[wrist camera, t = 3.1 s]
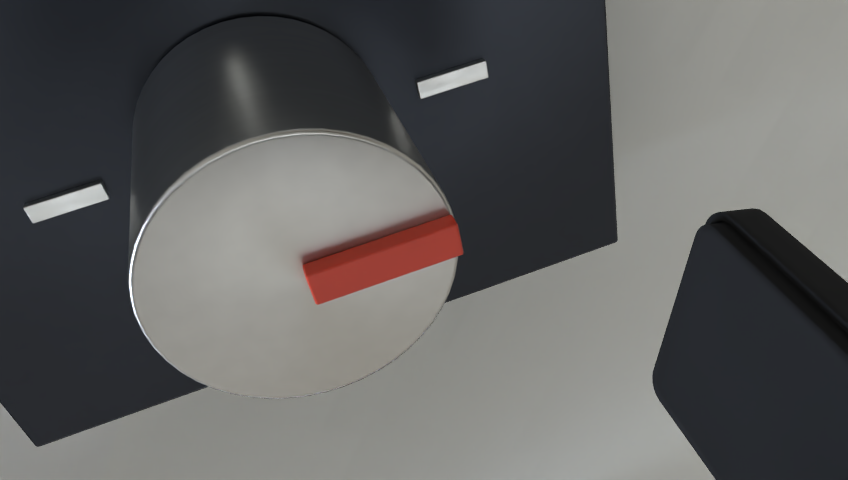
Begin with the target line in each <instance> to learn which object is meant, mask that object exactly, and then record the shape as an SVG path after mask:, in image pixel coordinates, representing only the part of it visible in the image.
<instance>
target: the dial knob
mask: <svg viewBox="0 0 848 480" xmlns="http://www.w3.org/2000/svg"><path fill="white" fill-rule="evenodd" d="M460 255H463V247H462V242H461V237H460V233H459V228H458V224H457V223H456V221H455V219H454V216H453V212H452V209H451V207H450V205H449V202H448V200H447V198H446V196H445V194H444V192H443V191H442V189H441V187H440V186H439V184H438V182H437V181H436V179H435V177H434V176H433V174H432V173H431V171H430V169H429V168H428V166H427V164H426V163H425V161H424V159H423V158H422V156H421V154H420V153H419V151H418V150H417V148H416V146H415V145H414V143H413V141H412V140H411V138H410V136H409V135H408V133H407V131H406V130H405V128H404V126H403V125H402V123H401V122H400V120H399V118H398V117H397V115H396V113H395V112H394V110H393V108H392V107H391V105H390V103H389V102H388V100H387V98H386V97H385V95H384V94H383V92H382V90H381V89H380V87H379V85H378V84H377V82H376V80H375V79H374V77H373V75H372V74H371V72H370V71H369V70H368V68H367V67H366V65H365V64H364V62H363V61H362V60H361V59H360V58H359V57H358V56H357V55H356V54H355V52H354V51H353V50H352V49H350V48H349V47H348V46H347V45H345V44H344V43H343V42H342V41H341V40H339V39H337V38H336V37H334V36H333V35H331V34H329V33H328V32H326V31H324V30H322V29H319V28H317V27H315V26H313V25H310V24H307V23H304V22H300V21H297V20H294V19H288V18H281V17H271V16H254V17H244V18H237V19H233V20H228V21H224V22H221V23H218V24H215V25H213V26H210V27H207V28H205V29H203V30H201V31H199V32H197V33H195V34H193V35H191V36H190V37H188V38H187V39H185V40H184V41H182V42H181V43H180V44H178V45H177V46H175V47H174V48H173V49H172V50H171V51H170V52H169V53H168V54H167V55H166V56H165V57H164V58H163V59H162V60H161V61H160V62H159V64H158V65H157V66H156V67H155V69H154V70H153V71H152V72H151V74H150V76H149V78H148V79H147V81H146V83H145V85H144V86H143V88H142V91H141V94H140V96H139V99H138V101H137V105H136V109H135V114H134V119H133V136H132V167H131V199H130V230H129V261H128V286H129V295H130V301H131V304H132V308H133V311H134V315H135V317H136V319H137V322H138V324H139V326H140V328H141V330H142V332H143V333H144V335H145V336H146V338H147V339H148V340H149V342H150V343H151V345H152V346H153V347H154V349H155V350H156V351H157V352H158V353H159V354H160V355H161V356H162V357H163V358H164V359H165V360H166V361H167V362H168V363H170V364H171V365H172V366H173V367H175V368H176V369H177V370H179V371H180V372H181V373H183V374H185V375H186V376H188V377H190V378H192V379H193V380H195V381H197V382H199V383H202V384H204V385H206V386H209V387H211V388H213V389H217V390H220V391H224V392H227V393H230V394H235V395H241V396H246V397H254V398H267V399H277V398H295V397H303V396H310V395H315V394H319V393H324V392H328V391H331V390H335V389H338V388H341V387H344V386H347V385H349V384H352V383H354V382H356V381H359V380H361V379H363V378H365V377H367V376H369V375H371V374H373V373H375V372H377V371H379V370H380V369H382V368H383V367H385V366H386V365H388V364H389V363H391V362H393V361H394V360H395V359H397V358H398V357H399V356H400V355H402V354H403V353H404V352H405V351H407V350H408V349H409V348H410V347H411V346H412V345H413V344H414V343H415V342H416V341H417V340H418V339H419V338H420V337H421V336H422V335H423V334H424V333H425V331H426V330H427V329H428V328H429V326H430V325H431V324H432V323H433V321H434V320H435V318H436V317H437V315H438V314H439V312H440V310H441V309H442V307H443V305H444V303H445V301H446V299H447V297H448V295H449V292H450V290H451V286H452V283H453V280H454V277H455V272H456V267H457V261H458V256H460Z"/></svg>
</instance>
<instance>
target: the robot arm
mask: <svg viewBox="0 0 848 480" xmlns="http://www.w3.org/2000/svg"><path fill="white" fill-rule="evenodd" d="M653 386H654V390H655V393H656V395H657V397H658V399H659V401H660V402H661V403H662V405H663V406H664V408H665V409H666V410H667V412H668V413H669V415H670V416H671V417H672V419H673V420H674V422H675V423H676V424H677V426H678V427H679V429H680V430H681V431H682V433H683V434H684V436H685V437H686V438H687V440H688V441H689V443H690V444H691V445H692V447H693V448H694V450H695V451H696V452H697V454H698V455H699V457H700V458H701V459H702V461H703V462H704V464H705V465H706V467H707V468H708V469H709V471H710V472H711V474H712V475H713V476H714V478H715V479H716V480H848V283H847V282H846V281H845V280H844V279H842V278H841V277H840V276H839V275H838V274H837V273H835V272H834V271H833V270H832V269H831V268H830V267H828V266H827V265H826V264H825V263H824V262H823V261H821V260H820V259H819V258H818V257H817V256H815V255H814V254H813V253H812V252H811V251H810V250H808V249H807V248H806V247H805V246H804V245H803V244H801V243H800V242H799V241H798V240H797V239H796V238H794V237H793V236H792V235H791V234H790V233H788V232H787V231H786V230H785V229H784V228H783V227H781V226H780V225H779V224H778V223H777V222H776V221H774V220H773V219H772V218H771V217H770V216H768V215H767V214H766V213H765V212H763V211H761V210H760V209H744V210H735V211H726V212H718V213H715V214H713V215H711V216H710V218H709V219H708V220H707V222H706V224H705V225H704V226H701V227H700V228H699V229H698V231H697V233H696V235H695V238H694V242H693V245H692V248H691V251H690V254H689V258H688V261H687V264H686V267H685V271H684V274H683V277H682V280H681V283H680V287H679V290H678V293H677V296H676V299H675V303H674V306H673V309H672V312H671V316H670V319H669V322H668V325H667V328H666V332H665V335H664V338H663V341H662V345H661V348H660V351H659V354H658V357H657V361H656V364H655V367H654V370H653Z"/></svg>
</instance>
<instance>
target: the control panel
mask: <svg viewBox="0 0 848 480" xmlns="http://www.w3.org/2000/svg"><path fill="white" fill-rule="evenodd" d="M254 16H271V17H281V18H288V19H294V20H297V21H300V22H304V23H307V24H310V25H313V26H315V27H317V28H319V29H322V30H324V31H326V32H328V33H329V34H331V35H333V36H334V37H336V38H337V39H339V40H341V41H342V42H343V43H344V44H345V45H347V46H348V47H349V48H350V49H352V50H353V51H354V52H355V54H356V55H357V56H358V57H359V58H360V59H361V60H362V61H363V62H364V64H365V65H366V67H367V68H368V70H369V71H370V72H371V74H372V75H373V77H374V79H375V80H376V82H377V84H378V85H379V87H380V89H381V90H382V92H383V94H384V95H385V97H386V98H387V100H388V102H389V103H390V105H391V107H392V108H393V110H394V112H395V113H396V115H397V117H398V118H399V120H400V122H401V123H402V125H403V126H404V128H405V130H406V131H407V133H408V135H409V136H410V138H411V140H412V141H413V143H414V145H415V146H416V148H417V150H418V151H419V153H420V154H421V156H422V158H423V159H424V161H425V163H426V164H427V166H428V168H429V169H430V171H431V173H432V174H433V176H434V177H435V179H436V181H437V182H438V184H439V186H440V187H441V189H442V191H443V192H444V194H445V196H446V198H447V200H448V202H449V205H450V207H451V209H452V212H453V216H454V219H455V221H456V223H457V224H458V228H459V233H460V237H461V242H462V247H463V255H460V256H458V261H457V267H456V272H455V277H454V280H453V283H452V286H451V290H450V292H449V295H448V297H447V299H446V301H445V303H446V302H449V301H452V300H454V299H457V298H460V297H463V296H466V295H469V294H471V293H474V292H477V291H480V290H483V289H485V288H488V287H491V286H494V285H497V284H500V283H502V282H505V281H508V280H511V279H514V278H517V277H519V276H522V275H525V274H528V273H531V272H533V271H536V270H539V269H542V268H545V267H548V266H550V265H553V264H556V263H559V262H562V261H565V260H567V259H570V258H573V257H576V256H579V255H581V254H584V253H587V252H590V251H593V250H596V249H598V248H601V247H604V246H607V245H610V244H613V243H615V242H617V240H618V239H617V220H616V200H615V181H614V162H613V142H612V123H611V104H610V84H609V65H608V46H607V26H606V7H605V0H0V403H1V404H2V405H3V406H4V408H5V409H6V410H7V411H8V412H9V414H10V415H11V416H12V417H13V419H14V420H15V421H16V422H17V424H18V425H19V426H20V427H21V428H22V430H23V431H24V432H25V433H26V435H27V436H28V437H29V438H30V440H31V441H32V442H33V443H34V444H35V446H37V447H39V446H42V445H45V444H48V443H51V442H54V441H56V440H59V439H62V438H65V437H68V436H70V435H73V434H76V433H79V432H82V431H85V430H87V429H90V428H93V427H96V426H99V425H102V424H104V423H107V422H110V421H113V420H116V419H118V418H121V417H124V416H127V415H130V414H133V413H135V412H138V411H141V410H144V409H147V408H150V407H152V406H155V405H158V404H161V403H164V402H166V401H169V400H172V399H175V398H178V397H181V396H183V395H186V394H189V393H192V392H195V391H198V390H200V389H203V388H206V387H209V386H206V385H204V384H202V383H199V382H197V381H195V380H193V379H192V378H190V377H188V376H186V375H185V374H183V373H181V372H180V371H179V370H177V369H176V368H175V367H173V366H172V365H171V364H170V363H168V362H167V361H166V360H165V359H164V358H163V357H162V356H161V355H160V354H159V353H158V352H157V351H156V350H155V349H154V347H153V346H152V345H151V343H150V342H149V340H148V339H147V338H146V336H145V335H144V333H143V332H142V330H141V328H140V326H139V324H138V322H137V319H136V317H135V315H134V311H133V308H132V304H131V301H130V295H129V286H128V261H129V230H130V199H131V167H132V136H133V119H134V114H135V109H136V105H137V101H138V99H139V96H140V94H141V91H142V88H143V86H144V85H145V83H146V81H147V79H148V78H149V76H150V74H151V72H152V71H153V70H154V69H155V67H156V66H157V65H158V64H159V62H160V61H161V60H162V59H163V58H164V57H165V56H166V55H167V54H168V53H169V52H170V51H171V50H172V49H173V48H174V47H175V46H177V45H178V44H180V43H181V42H182V41H184V40H185V39H187V38H188V37H190V36H191V35H193V34H195V33H197V32H199V31H201V30H203V29H205V28H207V27H210V26H213V25H215V24H218V23H221V22H224V21H228V20H233V19H237V18H244V17H254Z"/></svg>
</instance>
